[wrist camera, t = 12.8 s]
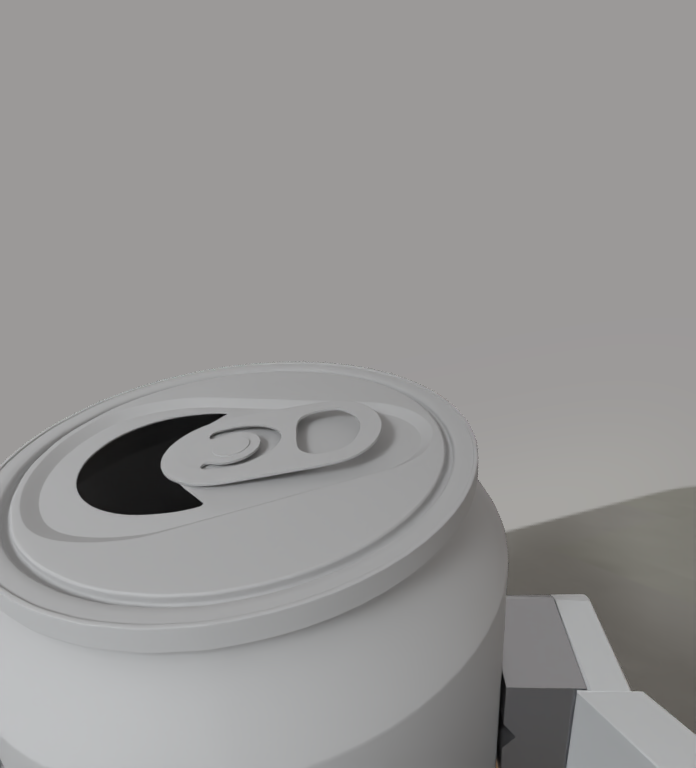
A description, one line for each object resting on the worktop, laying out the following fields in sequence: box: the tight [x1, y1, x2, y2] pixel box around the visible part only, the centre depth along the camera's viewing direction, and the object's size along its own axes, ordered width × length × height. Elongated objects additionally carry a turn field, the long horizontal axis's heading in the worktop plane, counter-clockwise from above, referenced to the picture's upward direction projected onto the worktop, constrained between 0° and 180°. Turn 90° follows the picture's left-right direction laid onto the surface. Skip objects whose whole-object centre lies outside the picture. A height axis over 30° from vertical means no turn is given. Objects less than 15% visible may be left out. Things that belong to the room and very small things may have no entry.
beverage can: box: [0, 362, 509, 768], centre depth 9 cm, size 6×6×12 cm
